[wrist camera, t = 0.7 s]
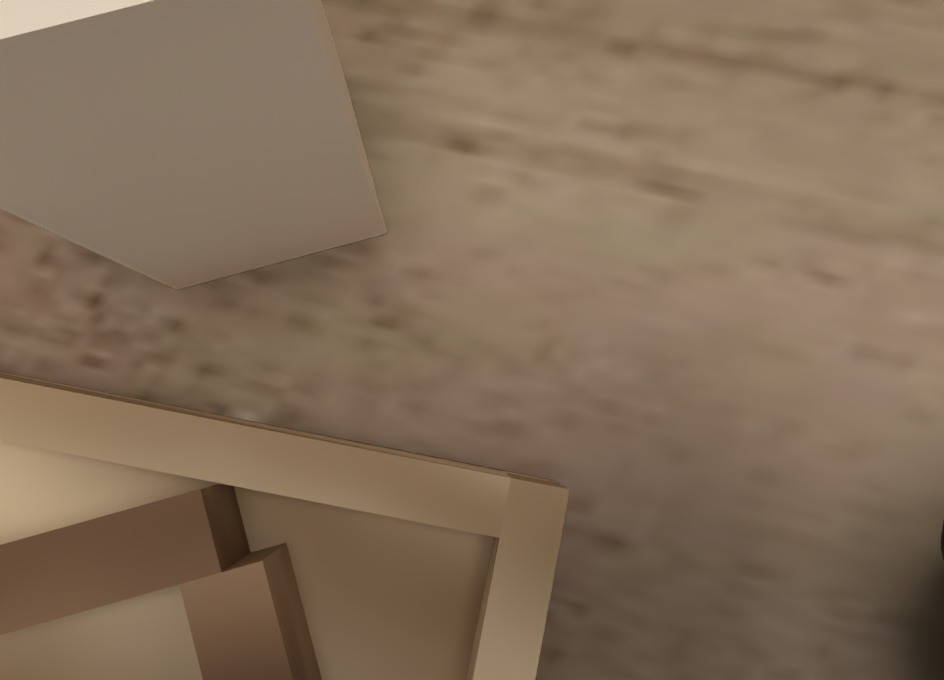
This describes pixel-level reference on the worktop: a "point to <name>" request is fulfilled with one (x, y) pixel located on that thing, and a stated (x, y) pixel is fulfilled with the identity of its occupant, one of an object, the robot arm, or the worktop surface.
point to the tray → (256, 550)
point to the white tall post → (182, 133)
